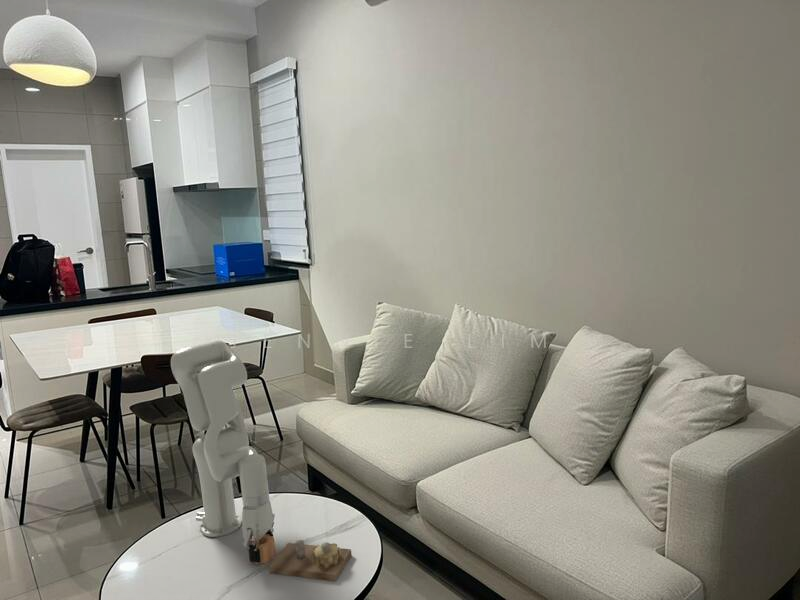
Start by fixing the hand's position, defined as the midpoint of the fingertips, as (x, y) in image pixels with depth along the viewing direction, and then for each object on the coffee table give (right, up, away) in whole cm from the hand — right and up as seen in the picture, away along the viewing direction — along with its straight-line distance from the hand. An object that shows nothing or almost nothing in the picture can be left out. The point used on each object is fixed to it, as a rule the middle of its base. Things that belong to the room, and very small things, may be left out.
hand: (262, 553), depth 178 cm
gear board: (+15, -1, -5) cm, 16 cm away
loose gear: (0, -1, 0) cm, 1 cm away
